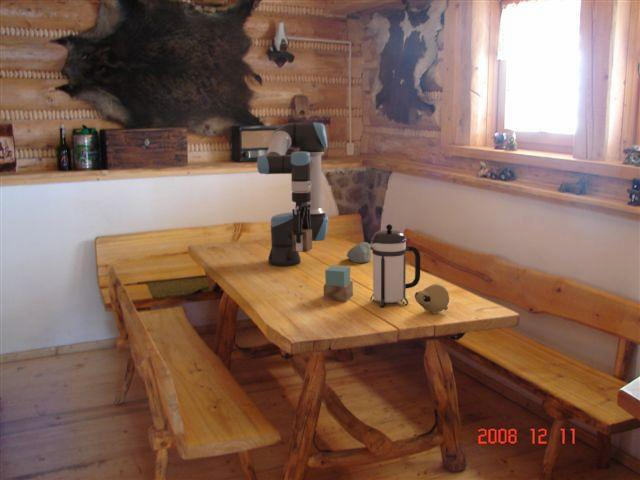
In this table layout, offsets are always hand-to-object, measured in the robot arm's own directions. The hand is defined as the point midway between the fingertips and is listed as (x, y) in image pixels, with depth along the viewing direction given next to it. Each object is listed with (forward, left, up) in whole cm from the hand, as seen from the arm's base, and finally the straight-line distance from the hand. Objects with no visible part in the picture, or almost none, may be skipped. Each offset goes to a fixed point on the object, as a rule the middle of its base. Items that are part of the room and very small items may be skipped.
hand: (302, 249), depth 275 cm
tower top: (+17, -6, -11) cm, 21 cm away
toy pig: (+55, -14, -17) cm, 59 cm away
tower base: (+17, -6, -17) cm, 25 cm away
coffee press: (+38, -5, -17) cm, 42 cm away
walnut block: (0, 0, 0) cm, 0 cm away
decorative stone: (+8, +54, -17) cm, 57 cm away
